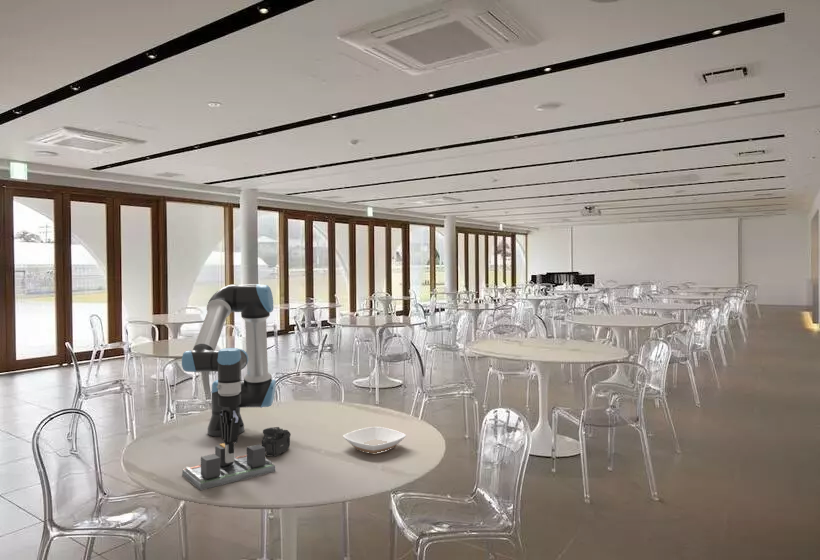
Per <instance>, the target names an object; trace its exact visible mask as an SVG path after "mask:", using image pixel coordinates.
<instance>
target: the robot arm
mask: <svg viewBox="0 0 820 560" xmlns="http://www.w3.org/2000/svg"><path fill="white" fill-rule="evenodd" d="M273 310H274V297H273V292H272V289H271V287H270V286H269V285H267V284H261V283H260V284H259V283H249V284H248V283H246V284H245V283H243V284H236V283H235V284H233V283H232V284H228V285H225V286H223V287H222V288H220V289H219V290H217V291H216V292H215V293H214V294H213V295H212V296H211V297H210V299H209V300H208V303H207V304H206V315H205V318H204V319H203V322H202V325H201V328H200V329H199V330H200V331H199V333H198V335H197V338H196V341H195V344H194V346H193V349H192V350H191V349H190V350H186V351H184V352H183V354H182V356H181V367H182V369H183V371H185V372H189V373H190V372H191V373H201V372H203V373H205V372H206V373H209V372H210V373H211V372H212V373H213V372H217V379H216V380H214V381H213V382H212V384H211V417H210V419H209V423H208V426H207V435H208V436H210V437H211V436H212V437H215V438H216V437H219V438H222V439H221V440H223V443H225V462H226V463H230V462H234V457H235V444H236V443H238V440H239V435H240V434H242V433H243V432H245V424H244V421H243V417H242V414H241V408H247V409H248V408H261V409H262V408H269V407H270V406H272V405H273V403H274V399H275V394H276V388H277V386H276V385H277V382H276V379H272V373H270V372H269V369H268V367H269V366H268V337H267V319H268V318H269V317H270V313H272V312H273ZM231 313H240V317H241V319H243V320H244V322H245V323H244V325H245V348H246V349H245V350H246V351H245V350H244V349H241V348H238V347H224V348H220V349H219V350H216V349H217V345H218V343H219V341H220V337H221V334H222V331H223V328H224V325H225V322H226V319H227V318H228V317H230V315H231ZM245 368H247V369H246V370H247V371H246V373H247V374H245V375H244V377H243V380H242V379H241V375H242V370H243V369H245Z"/></svg>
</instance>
